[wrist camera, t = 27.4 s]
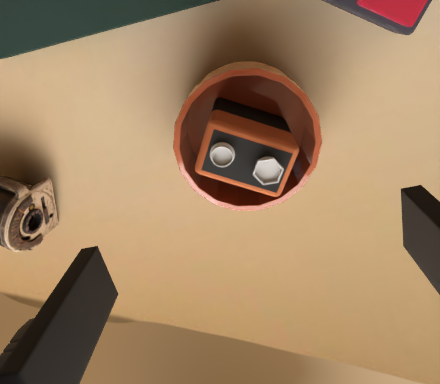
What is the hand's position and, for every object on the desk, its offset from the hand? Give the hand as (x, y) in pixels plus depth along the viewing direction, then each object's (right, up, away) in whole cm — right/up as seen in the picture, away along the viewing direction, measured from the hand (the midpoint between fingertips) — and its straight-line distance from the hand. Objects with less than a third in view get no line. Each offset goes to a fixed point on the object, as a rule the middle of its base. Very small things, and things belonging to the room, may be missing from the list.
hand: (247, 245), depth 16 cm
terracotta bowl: (+1, +9, +20) cm, 21 cm away
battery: (+1, +8, +19) cm, 21 cm away
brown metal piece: (-24, +3, +24) cm, 34 cm away
